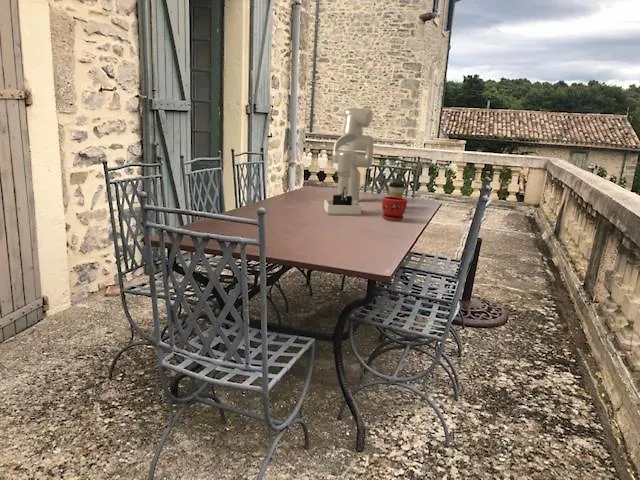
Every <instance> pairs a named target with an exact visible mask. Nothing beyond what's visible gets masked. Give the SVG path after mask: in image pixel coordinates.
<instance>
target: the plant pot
mask: <svg viewBox="0 0 640 480" xmlns="http://www.w3.org/2000/svg"><path fill="white" fill-rule="evenodd" d="M381 203H382V204H381V205H382V212H383V214H382V218H383V219H384V220H387V221H390V222H399V221H402V220H403V219H404V216H403V215H405V213H406V212H405V211H406V210H407V205H408V204H407V203H408V199H407V198H405V197H402V198H399V197H389V196H383V197H382V202H381ZM393 205H394V207H393ZM396 206H397V207H396ZM398 206H399V207H398Z"/></svg>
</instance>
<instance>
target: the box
mask: <svg viewBox="0 0 640 480" xmlns="http://www.w3.org/2000/svg"><path fill="white" fill-rule="evenodd" d="M323 201H324V202H323V210H324V211H326V212H325V213H326V214H327V216H353V217H354V216H355V217H358V216H360V217H361V214H362V205H361V204H360V203H359V202H356V201H352V206H349V205H333V199H329V200H328V199H324V200H323Z"/></svg>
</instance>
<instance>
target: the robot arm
mask: <svg viewBox="0 0 640 480" xmlns="http://www.w3.org/2000/svg"><path fill="white" fill-rule="evenodd" d="M343 114H344V118H345V119H344V121H345V122H344V127H343V133H342V135H341V136H340V137H338V139H337V140H336V141H335V143H334V145H333V146H332V147H333V148H332V155H331V159H332V162H333V163H335V164H337V177H338V179H337V191H336V193H337V195H341V205H346V201H347V200H346V196H352V201H356V202H357V203H359V202H361V201H362V198H360V189H361V188H360V187H361V185H360V184H361V172H360V170H359V169H358V168H363V169H365V168H369V169H370V168H371V167H372V166H373V160H374V146H375V145H374V143H375V142H374V138H373V137H372V136H371V135H363V128H369V126H370V125H371V123H372V122H373V121H372V120H373V117H374V116H373V115H374V114H373V110H372V109H370V108H358V107H356V108H355V107H350V108H349V107H348V108H345V110H344V113H343ZM345 144H347V145H348V148H349V149H350V150H341V149H340V148H341V147H342V146H343V145H345ZM353 150H354V151H353ZM359 151H360V152H359ZM363 151H364V152H363Z"/></svg>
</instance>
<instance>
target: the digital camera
mask: <svg viewBox="0 0 640 480" xmlns="http://www.w3.org/2000/svg"><path fill="white" fill-rule="evenodd" d="M332 200H333V205H341V195H339V194H333V196H332ZM346 200H347V201H346V205H349V206H352V196H346Z"/></svg>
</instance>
